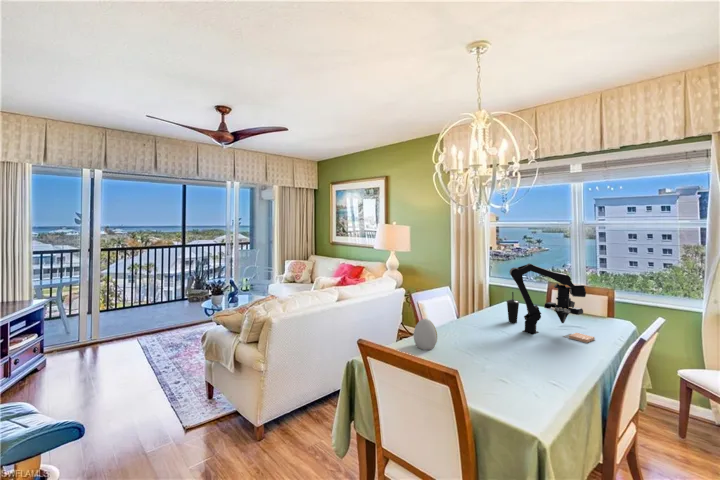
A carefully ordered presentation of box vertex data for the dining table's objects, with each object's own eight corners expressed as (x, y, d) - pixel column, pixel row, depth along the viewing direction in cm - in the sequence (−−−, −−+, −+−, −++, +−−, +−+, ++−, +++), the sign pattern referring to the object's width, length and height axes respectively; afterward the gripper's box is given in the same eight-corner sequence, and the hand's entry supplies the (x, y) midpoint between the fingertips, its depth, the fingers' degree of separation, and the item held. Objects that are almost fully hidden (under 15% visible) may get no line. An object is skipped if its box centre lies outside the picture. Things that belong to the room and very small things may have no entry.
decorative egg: (442, 347, 173) (442, 318, 173) (427, 353, 165) (427, 323, 165) (423, 341, 183) (423, 314, 182) (408, 347, 174) (408, 318, 174)
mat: (587, 344, 174) (587, 343, 174) (562, 337, 186) (562, 336, 186) (596, 340, 179) (596, 340, 179) (570, 334, 190) (570, 333, 190)
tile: (569, 338, 183) (587, 342, 175) (569, 335, 183) (587, 339, 175) (576, 335, 187) (594, 340, 179) (576, 332, 187) (594, 337, 179)
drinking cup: (512, 324, 210) (512, 293, 210) (503, 321, 218) (503, 291, 217) (522, 323, 212) (522, 292, 212) (513, 320, 220) (513, 290, 219)
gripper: (588, 297, 185) (587, 325, 185) (554, 291, 201) (554, 317, 201) (578, 299, 179) (577, 328, 180) (544, 293, 195) (543, 319, 196)
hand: (562, 323), depth 189 cm, fingers closed
